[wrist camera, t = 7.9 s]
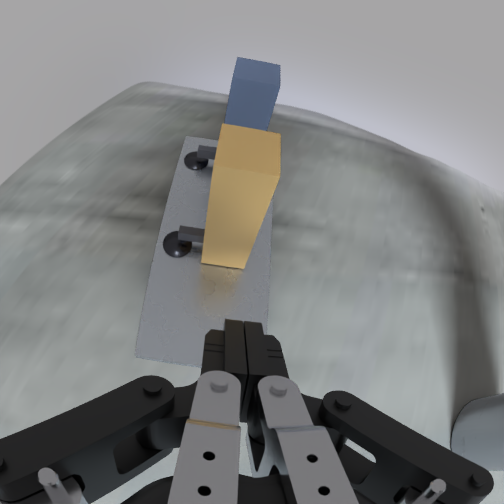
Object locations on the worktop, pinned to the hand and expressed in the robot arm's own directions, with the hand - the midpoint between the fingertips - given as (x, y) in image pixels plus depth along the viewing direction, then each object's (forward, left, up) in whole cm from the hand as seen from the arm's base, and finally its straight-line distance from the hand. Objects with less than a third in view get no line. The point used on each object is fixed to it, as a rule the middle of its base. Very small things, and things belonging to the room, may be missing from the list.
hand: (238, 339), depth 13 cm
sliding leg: (-3, -12, -14) cm, 19 cm away
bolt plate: (-4, -13, -15) cm, 21 cm away
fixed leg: (-6, -22, -14) cm, 27 cm away
